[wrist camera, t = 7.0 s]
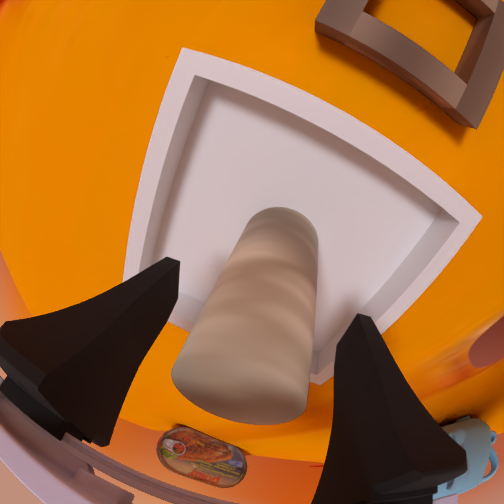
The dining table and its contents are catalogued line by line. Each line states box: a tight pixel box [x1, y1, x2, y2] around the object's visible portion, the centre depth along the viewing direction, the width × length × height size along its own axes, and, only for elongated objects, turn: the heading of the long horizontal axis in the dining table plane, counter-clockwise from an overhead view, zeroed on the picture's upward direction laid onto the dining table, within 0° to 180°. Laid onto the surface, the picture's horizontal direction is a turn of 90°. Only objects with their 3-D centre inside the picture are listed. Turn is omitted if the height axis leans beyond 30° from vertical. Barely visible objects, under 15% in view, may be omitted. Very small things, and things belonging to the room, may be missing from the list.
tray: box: [123, 48, 482, 385], centre depth 14 cm, size 15×15×3 cm
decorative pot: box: [433, 416, 499, 500], centre depth 21 cm, size 16×16×14 cm
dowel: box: [171, 207, 318, 425], centre depth 11 cm, size 4×4×9 cm
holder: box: [315, 0, 504, 129], centre depth 7 cm, size 8×8×2 cm
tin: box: [157, 427, 247, 488], centre depth 33 cm, size 15×3×8 cm, turn 56°
